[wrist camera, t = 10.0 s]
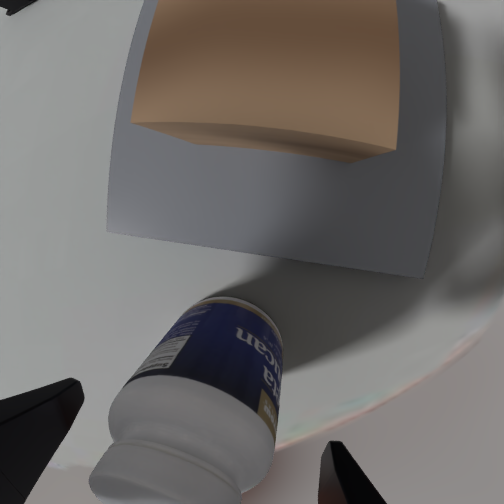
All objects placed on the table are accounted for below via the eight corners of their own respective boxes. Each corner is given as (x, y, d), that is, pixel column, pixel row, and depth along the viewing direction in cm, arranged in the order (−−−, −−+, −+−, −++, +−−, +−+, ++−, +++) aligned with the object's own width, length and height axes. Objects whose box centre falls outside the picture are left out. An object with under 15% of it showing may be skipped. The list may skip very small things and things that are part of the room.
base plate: (163, -19, 10) (155, -30, 9) (427, 5, 9) (435, -5, 7) (120, 227, 13) (106, 231, 12) (413, 270, 12) (423, 278, 11)
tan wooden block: (216, 17, 9) (177, -52, 5) (359, 30, 9) (390, -40, 4) (195, 144, 11) (130, 123, 6) (351, 163, 10) (396, 149, 5)
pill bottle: (306, 354, 14) (307, 544, 4) (225, 398, 15) (172, 551, 6) (235, 270, 13) (126, 440, 4) (157, 329, 14) (42, 464, 5)
